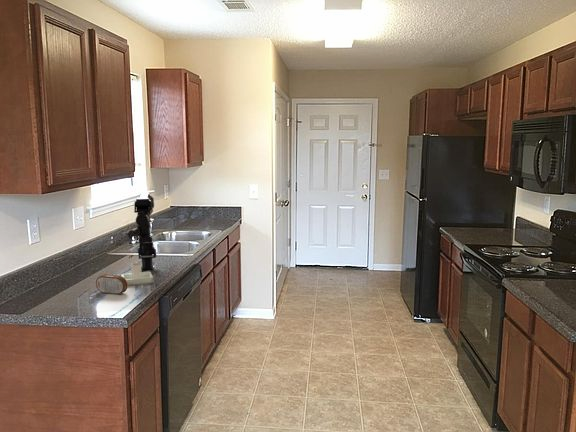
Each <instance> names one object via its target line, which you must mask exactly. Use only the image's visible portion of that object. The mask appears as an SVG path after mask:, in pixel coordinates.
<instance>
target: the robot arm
mask: <svg viewBox="0 0 576 432" xmlns="http://www.w3.org/2000/svg"><path fill="white" fill-rule="evenodd" d="M133 206H134V210H133V212H134V214H135V213H137V214H136V215H137V216H136V218H135V223H136V227H134V228H131V229H130V230H127V231H125V233H126V235H127V238H128V239H132V238H134V237H137V240H138V243H139V246H138V247H137V254H138V255H137V256H138V259H139V260H141V271H151V270H152V269H153V270H155V267H154V266H153V265H154V264H153V263H154V262H153V261H154V260H153V259H155V258H157V250H156V247H155V246H154V243H153V237H152V236H151V215H152V214H153V211H154V208H155V198H154V197H153V196H151V193H150V192H140V193H139V197H136V198H135V200H134V205H133ZM153 270H152V271H153Z"/></svg>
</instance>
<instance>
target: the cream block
mask: <svg viewBox="0 0 576 432" xmlns="http://www.w3.org/2000/svg"><path fill="white" fill-rule="evenodd" d="M141 267H142V263H141V262H140V261H139V260H138V261H132V263H131V273H132V279H137V278H141V272H142V270H141Z"/></svg>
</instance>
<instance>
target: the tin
mask: <svg viewBox="0 0 576 432" xmlns="http://www.w3.org/2000/svg"><path fill="white" fill-rule="evenodd" d="M95 287H96V288H97V290H98V291H99V292H100V293H103V294H110V295H122V294H124V293H125V292H126V291H127V290H128V287H129V286H128V285H127V281H126V280H125V279H124V278H123V277H122V276H121V275H118V274H117V275H116V274H108V273H107V274H106V273H103V274H101V275H100V276H99V275H98V277H97V278H96V280H95Z"/></svg>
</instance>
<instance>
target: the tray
mask: <svg viewBox="0 0 576 432" xmlns="http://www.w3.org/2000/svg"><path fill="white" fill-rule="evenodd" d="M120 276H122V277H123V278H124V279H125V280H126V281H127V285H128V287H132V286H134V287H135V286H142V285H141V284H144V285H149V284H148V283H153V284H154V277H153V274H152V271H143V272H142V271H141V278H137V279H132V272H130V273H121V274H120Z"/></svg>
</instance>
